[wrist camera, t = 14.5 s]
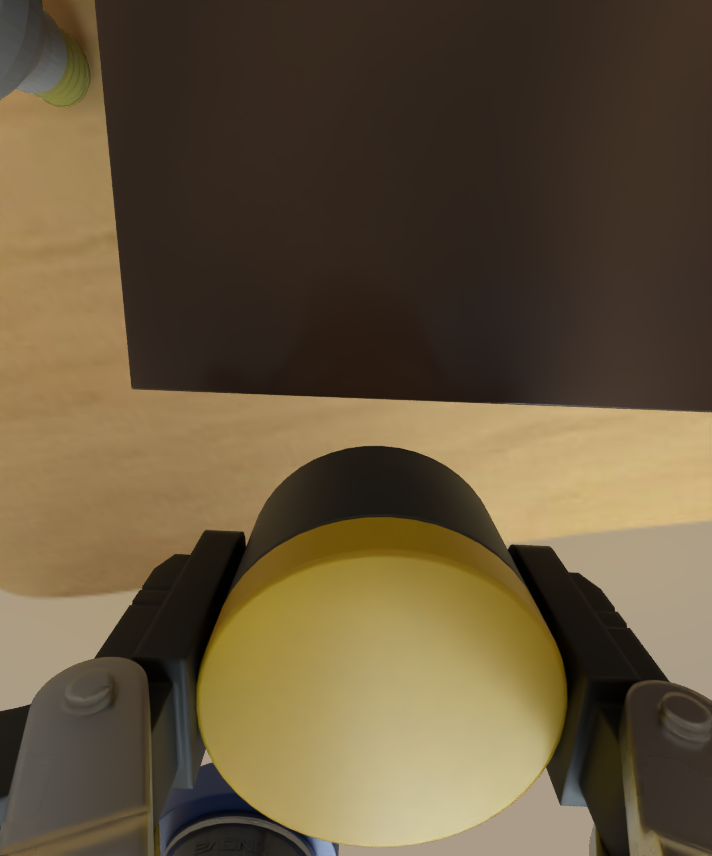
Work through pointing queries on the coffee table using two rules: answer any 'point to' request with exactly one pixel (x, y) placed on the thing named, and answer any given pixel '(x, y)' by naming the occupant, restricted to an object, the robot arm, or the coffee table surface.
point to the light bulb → (39, 55)
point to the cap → (379, 658)
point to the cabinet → (415, 198)
